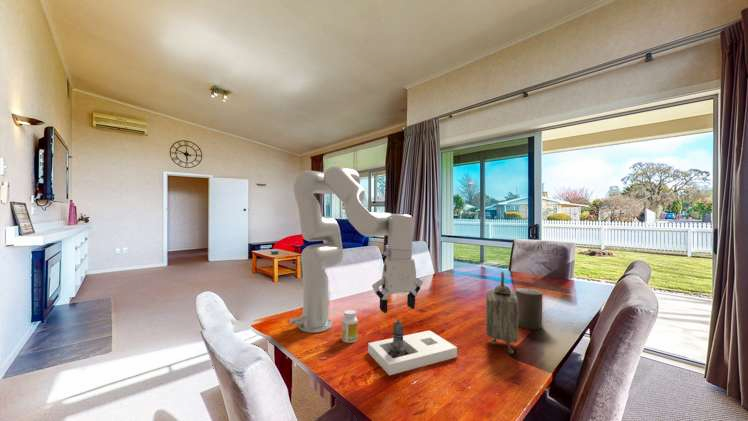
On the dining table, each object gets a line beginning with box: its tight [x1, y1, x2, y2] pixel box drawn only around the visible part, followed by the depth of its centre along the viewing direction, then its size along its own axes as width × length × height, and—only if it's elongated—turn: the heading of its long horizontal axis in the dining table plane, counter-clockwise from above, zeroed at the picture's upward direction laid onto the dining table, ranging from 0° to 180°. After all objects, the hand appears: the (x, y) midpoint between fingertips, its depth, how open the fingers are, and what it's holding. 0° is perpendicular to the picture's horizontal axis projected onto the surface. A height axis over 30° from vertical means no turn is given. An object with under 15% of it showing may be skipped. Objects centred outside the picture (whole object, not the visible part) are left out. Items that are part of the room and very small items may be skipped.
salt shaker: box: [389, 319, 408, 358], centre depth 90 cm, size 6×6×12 cm
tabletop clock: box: [485, 271, 519, 355], centre depth 99 cm, size 14×9×25 cm, turn 160°
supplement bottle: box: [341, 309, 359, 344], centre depth 102 cm, size 5×5×10 cm
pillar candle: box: [515, 287, 543, 331], centre depth 117 cm, size 10×10×15 cm
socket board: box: [367, 330, 458, 376], centre depth 92 cm, size 24×14×3 cm, turn 116°
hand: (397, 309), depth 90 cm, fingers open, 9 cm apart
